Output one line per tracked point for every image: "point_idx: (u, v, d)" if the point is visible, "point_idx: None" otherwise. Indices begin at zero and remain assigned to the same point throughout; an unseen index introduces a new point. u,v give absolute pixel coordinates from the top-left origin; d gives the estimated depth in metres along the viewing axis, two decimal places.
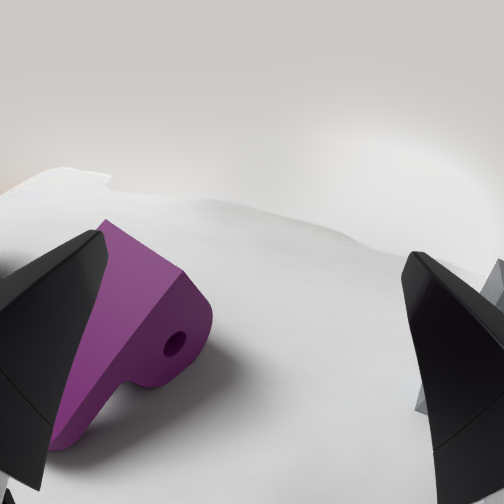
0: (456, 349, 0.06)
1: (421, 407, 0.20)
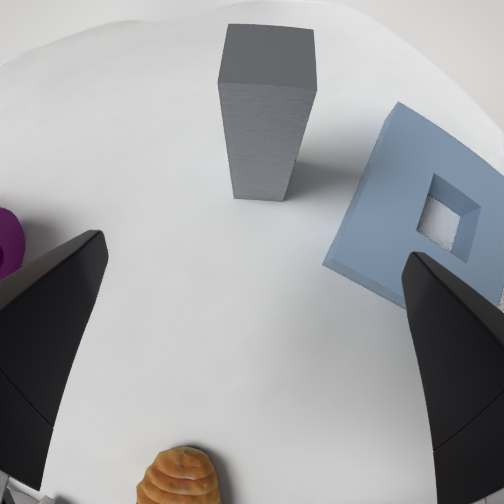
0: (456, 349, 0.06)
1: (238, 195, 0.22)
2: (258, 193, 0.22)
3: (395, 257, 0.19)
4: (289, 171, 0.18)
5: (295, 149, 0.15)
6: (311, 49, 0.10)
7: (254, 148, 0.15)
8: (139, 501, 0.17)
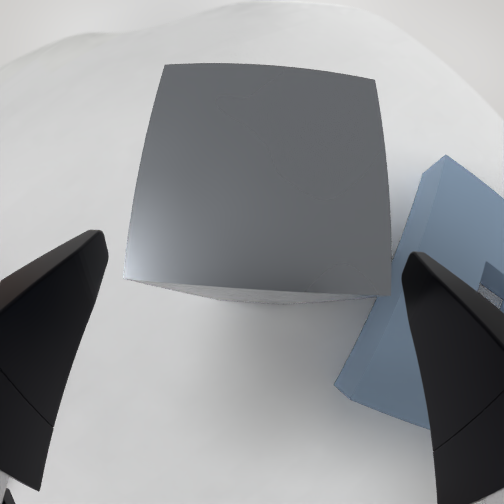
0: (456, 349, 0.06)
1: None
2: None
3: None
4: None
5: None
6: (376, 144, 0.04)
7: None
8: None
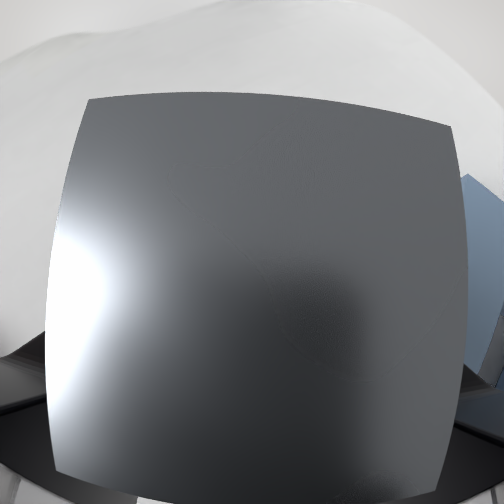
0: None
1: None
2: None
3: None
4: None
5: None
6: (455, 259, 0.02)
7: None
8: None
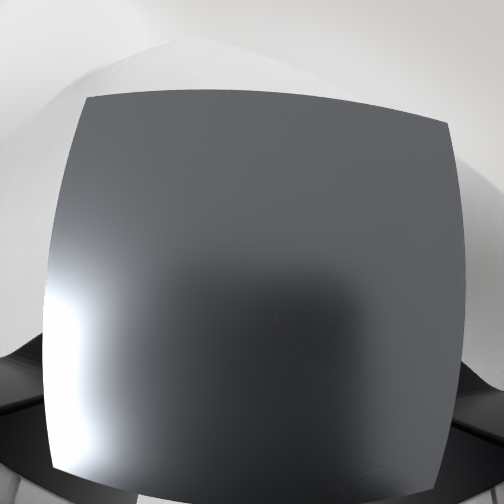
0: None
1: None
2: None
3: None
4: None
5: None
6: (452, 255, 0.02)
7: None
8: None
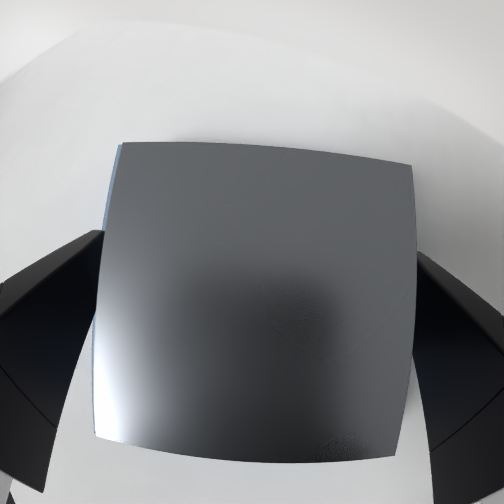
0: (452, 349, 0.06)
1: None
2: None
3: None
4: None
5: None
6: (406, 273, 0.03)
7: None
8: None
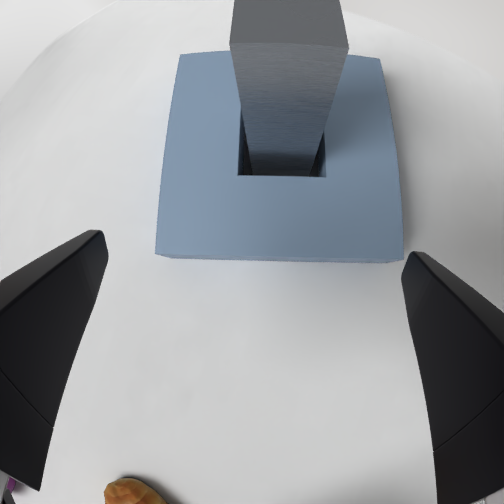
0: (456, 349, 0.06)
1: None
2: (280, 173, 0.19)
3: (222, 217, 0.18)
4: (315, 147, 0.15)
5: (322, 121, 0.12)
6: (336, 5, 0.08)
7: (275, 121, 0.13)
8: None
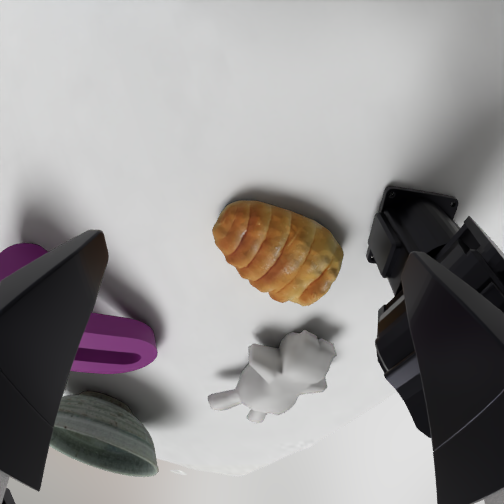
0: (456, 349, 0.06)
1: None
2: None
3: None
4: None
5: None
6: None
7: None
8: (259, 290, 0.24)
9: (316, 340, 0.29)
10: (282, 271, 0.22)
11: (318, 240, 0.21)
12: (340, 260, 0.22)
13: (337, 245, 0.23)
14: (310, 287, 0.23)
